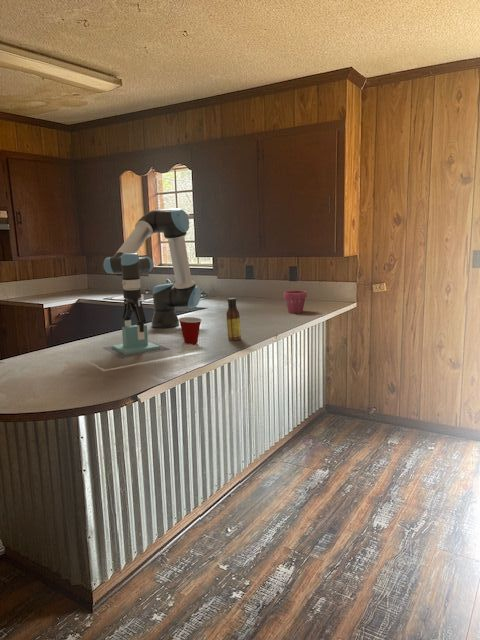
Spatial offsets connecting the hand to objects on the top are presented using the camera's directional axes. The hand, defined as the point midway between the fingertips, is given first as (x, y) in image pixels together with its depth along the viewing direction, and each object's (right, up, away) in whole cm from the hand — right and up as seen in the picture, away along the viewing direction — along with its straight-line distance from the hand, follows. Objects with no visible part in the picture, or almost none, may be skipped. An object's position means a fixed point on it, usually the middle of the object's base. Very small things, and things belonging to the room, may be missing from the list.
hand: (135, 336), depth 217 cm
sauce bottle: (+44, -2, +17) cm, 47 cm away
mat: (0, -6, +1) cm, 6 cm away
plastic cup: (+24, -4, +11) cm, 27 cm away
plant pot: (+81, +12, +90) cm, 122 cm away
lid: (0, -5, +1) cm, 5 cm away
